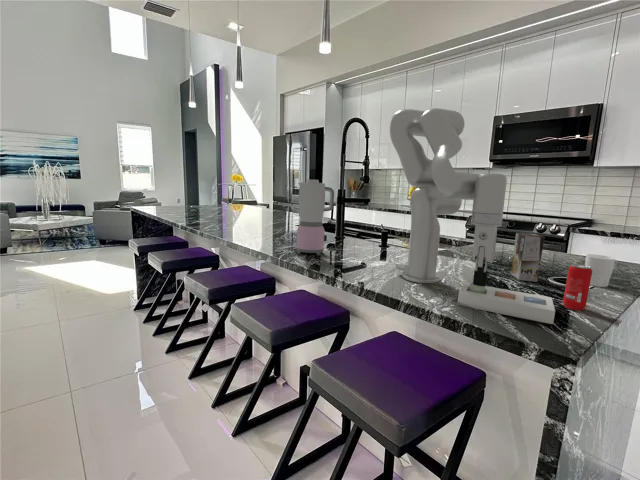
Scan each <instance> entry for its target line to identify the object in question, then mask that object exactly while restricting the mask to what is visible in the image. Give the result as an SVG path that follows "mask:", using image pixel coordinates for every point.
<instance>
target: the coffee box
mask: <svg viewBox="0 0 640 480" xmlns="http://www.w3.org/2000/svg"><path fill="white" fill-rule="evenodd" d="M515 233H516V234H515V237H514V238H515V239H514V247H513V253H512V263H511V269H510V275H511V276H513V277H514V278H516V279H518V281H527V282H535V283H536V282H538V279H539V273H540V268H541V262H542V254H543V249H544V243H545V242H544V241H545V236H542V235H539V234H536V233H531V232H530V233H529V232H515Z"/></svg>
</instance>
